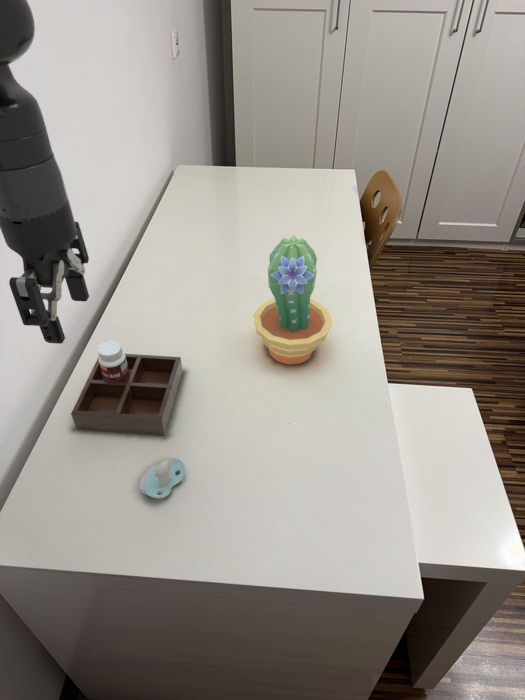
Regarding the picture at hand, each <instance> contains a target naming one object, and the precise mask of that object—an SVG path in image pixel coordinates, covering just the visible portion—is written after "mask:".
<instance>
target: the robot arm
mask: <svg viewBox="0 0 525 700" xmlns="http://www.w3.org/2000/svg"><path fill="white" fill-rule="evenodd" d="M35 27H36V25H35V19H34V15H33V11H32V9H31V6H30V4H29V2H28V0H0V231H1V234H2V237H3V239H4V242H5V244H6V246H7V247H8V248H9V249H10V250H11V251H13V252H14V253H16V254H17V255H18V256H20V257H21V260H22V266H23V273H22V274H21V276H19V277H15V276H12V277H10V279H9V282H8V284H9V288H10V290H11V293H12V297H13V299H14V302H15V305H16V307H17V311H18V313H19V316H20V319H21V322H22V324H23V325H24V326H33V327H39V329H40V332H41V334H42V338H43V340H44V341H45V343H48V344H59V345H60V344H63V343H64V341H65V340H66V335H65V333H64V330H63V327H62V323H61V321H60V318H59V316H58V301H60V300H61V299H62V287H63V286H62V284H63V281H64V280H65V282H66V287H67V289H68V292H69V296H70V298H71V300H72V301H74V302H87V301H88V299H89V298H90V294H89V291H88V287H87V283H86V279H85V274H86V267H85V265H84V264H88V263H89V260H90V258H89V253H88V249H87V247H86V244H85V240H84V237H83V232H82V230H81V227H80V222H78V221H75V218H74V214H73V211H72V207H71V203H70V200H69V196H68V193H67V188H66V184H65V180H64V178H63V173H62V171H61V169H60V166H59V164H58V161H57V159H56V156H55V154H54V150H53V147H52V144H51V143H52V142H51V139H50V135H49V132H48V128H47V124H46V121H45V117H44V114H43V111H42V108H41V106H40V104H39V102H38V100H37V98H36V97H35V96H34V95H33V94H32V93H30V92H29V91H28V89H26V88H25V87H23V86H22V85H21V84H20V83H19V82H18V81H17V80H16V77H15V76H14V74H13V72H12V69H11V67H10V65H13V64H15V63H16V62H19V60H21V59H22V58H24V57H25V56H26V55H27V54H28V53H29V50H30V49H31V47H32V46H33V42H34V39H35V32H36V31H35V30H36V28H35ZM73 249H76V250H78V253H77V252H76V253H75V252H74V250H73ZM42 288H43V289H44V288H47V289H51V291H50V292H41V291H42ZM44 300H45V301H47V308H46V305H45V302H44Z"/></svg>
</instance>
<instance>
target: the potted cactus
mask: <svg viewBox="0 0 525 700" xmlns="http://www.w3.org/2000/svg"><path fill="white" fill-rule="evenodd" d="M317 260H318V257H317V255H316V253H315V250H314V249H313V248H312V247H311V245H310V244H309V243H308V242H307V241H306V240H305V238H300V239H298V238H297V235H292V236H291V237H290V238H289V239H288V238H286V237H283V238H282V239H281V240H280V242H279V243H278V244H277V245H276V246H275V247H274V248H273V250H272V251H271V252H270V254H269V264H268V266H267V279H268V288H269V290H270V293H272V295H273V298H271V299H269V300H266V301H264V302H262V303H260V304H259V305H258V307H257V308H256V310H255V312H254V313H253V315H252V318H253V323H254V329H255V332H256V335H258V336H259V337H260V339H261V340H262V342H263V344H264V346H266V347H267V348H268V352H269V356H271V358H273V359H274V360H275V361H277V362H278V363H283V364H286V365H297V364H302V363H303V362H306V361H308V360H310V359H311V356H312V354H313V352H314V351H315V350H316V349H317V348H318V346H319V345H320V343H321V342H323V341H324V340H325V339H326V337H327V335H328V333H329V332H330V329H331V326H332V324H333V320H332V317H331V314H330V312H329V310H328V308H327V307H325V306H323V305H322V304H320V303H319V302H318V301H316V300H315V299H311V297H312V294H313V292H314V290H315V284H316V278H317V271H318V269H317V268H316V267H317Z"/></svg>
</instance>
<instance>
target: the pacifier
mask: <svg viewBox="0 0 525 700" xmlns="http://www.w3.org/2000/svg"><path fill="white" fill-rule="evenodd" d="M185 467H186V466H185V464H184V462H183V461H182V460H180V459H179V458H169V459H168V458H165V459H164V460H163V461H161V462H159V463H157V464H154V465H153V466H150V468H149V469H147V470H146V471H145V473H144V474H143V475H142V477H141V478H140V482H139V486H138V487H139V492H140V493H141V494H143V495H145V496H149V497H150V498H152V499H159V500H160V499H165V498H166V497H168V496H169V495H170V493H171V492H172V488H173V487H174V486H176V485H178V484H179V483H181V481H182V480H183V478H184V477H185V473H186V468H185ZM177 472H179V474H178V475H177V474H176V473H177Z"/></svg>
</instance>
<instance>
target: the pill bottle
mask: <svg viewBox="0 0 525 700" xmlns="http://www.w3.org/2000/svg"><path fill="white" fill-rule="evenodd" d="M97 352H98V357H99V364H100V367H101V371H102V374H103V378H104V381H118V382H128V380H129V377H130V373H129V368H128V364H127V360H126V355H125V354H126V352H124V350H123V347H122V345H121V343H120V342H118V341H117V340H107V341H106V340H105V341H104V342H102V343H101V344H100V345H99V346H98V347H97Z"/></svg>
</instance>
